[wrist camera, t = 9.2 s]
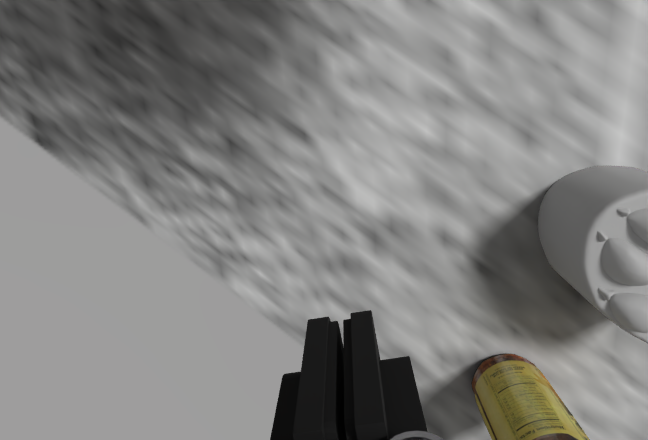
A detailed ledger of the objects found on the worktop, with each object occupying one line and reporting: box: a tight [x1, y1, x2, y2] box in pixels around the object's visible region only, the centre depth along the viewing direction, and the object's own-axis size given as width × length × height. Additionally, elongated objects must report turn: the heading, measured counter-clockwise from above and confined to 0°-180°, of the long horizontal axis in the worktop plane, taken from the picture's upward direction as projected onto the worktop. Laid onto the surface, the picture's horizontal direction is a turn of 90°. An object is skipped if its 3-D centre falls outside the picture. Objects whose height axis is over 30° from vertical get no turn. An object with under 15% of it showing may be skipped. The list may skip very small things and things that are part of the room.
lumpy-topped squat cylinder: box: [538, 166, 648, 343], centre depth 33 cm, size 10×13×9 cm
